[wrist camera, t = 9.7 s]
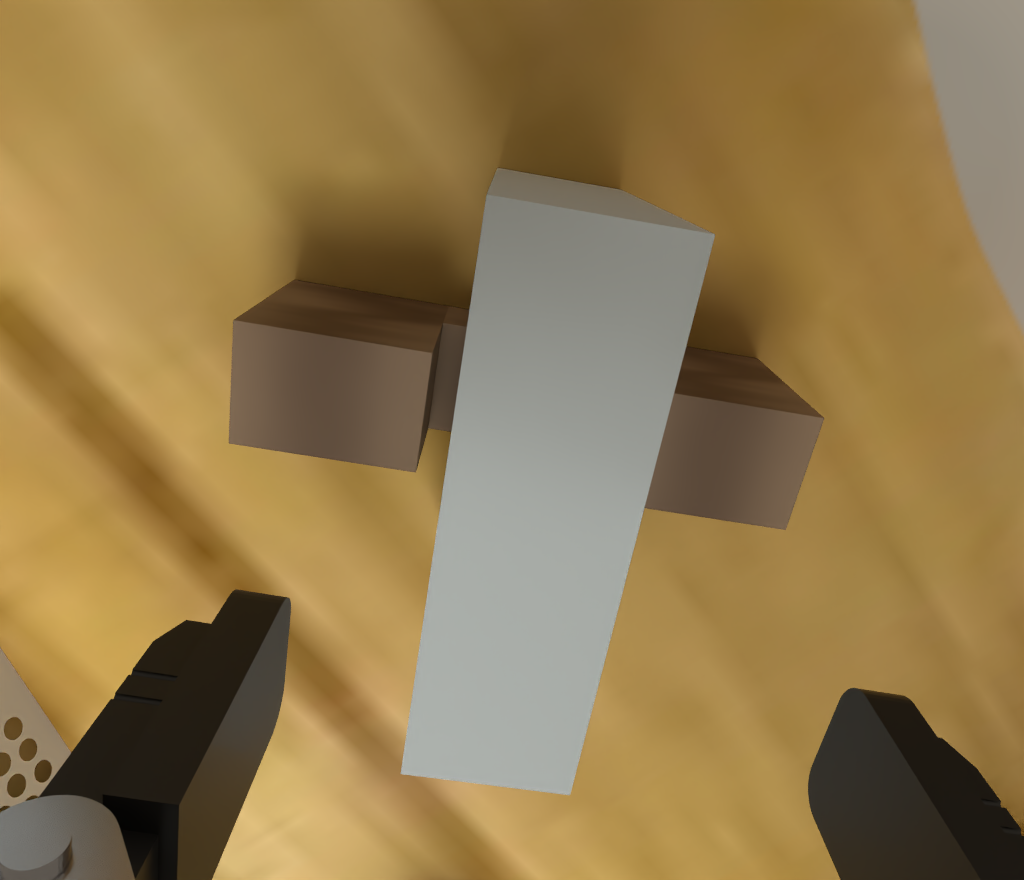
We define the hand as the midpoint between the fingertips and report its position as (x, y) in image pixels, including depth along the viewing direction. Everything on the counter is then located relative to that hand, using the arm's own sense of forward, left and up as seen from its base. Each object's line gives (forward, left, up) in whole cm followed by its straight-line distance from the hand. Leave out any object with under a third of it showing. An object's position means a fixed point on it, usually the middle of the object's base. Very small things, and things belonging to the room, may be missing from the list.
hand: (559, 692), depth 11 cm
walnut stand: (0, 0, -17) cm, 17 cm away
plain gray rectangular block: (0, 0, -17) cm, 17 cm away
